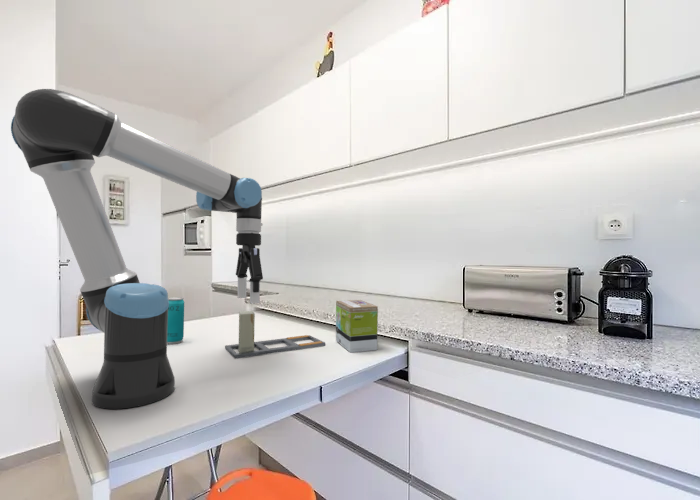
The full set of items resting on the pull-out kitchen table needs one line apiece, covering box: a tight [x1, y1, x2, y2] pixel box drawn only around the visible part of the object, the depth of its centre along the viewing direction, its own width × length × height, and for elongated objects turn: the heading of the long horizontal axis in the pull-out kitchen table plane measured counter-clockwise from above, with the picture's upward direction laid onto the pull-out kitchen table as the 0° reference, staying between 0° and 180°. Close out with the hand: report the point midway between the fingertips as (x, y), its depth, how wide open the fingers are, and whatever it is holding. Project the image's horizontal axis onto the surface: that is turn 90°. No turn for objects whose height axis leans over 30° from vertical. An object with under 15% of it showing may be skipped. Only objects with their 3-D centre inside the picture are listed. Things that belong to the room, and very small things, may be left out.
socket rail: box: [224, 334, 326, 360], centre depth 115 cm, size 12×30×1 cm, turn 123°
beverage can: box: [167, 296, 185, 345], centre depth 118 cm, size 6×6×15 cm
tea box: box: [335, 299, 379, 353], centre depth 118 cm, size 15×10×15 cm
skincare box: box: [237, 310, 256, 353], centre depth 109 cm, size 6×4×12 cm
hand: (248, 300), depth 109 cm, fingers open, 13 cm apart
